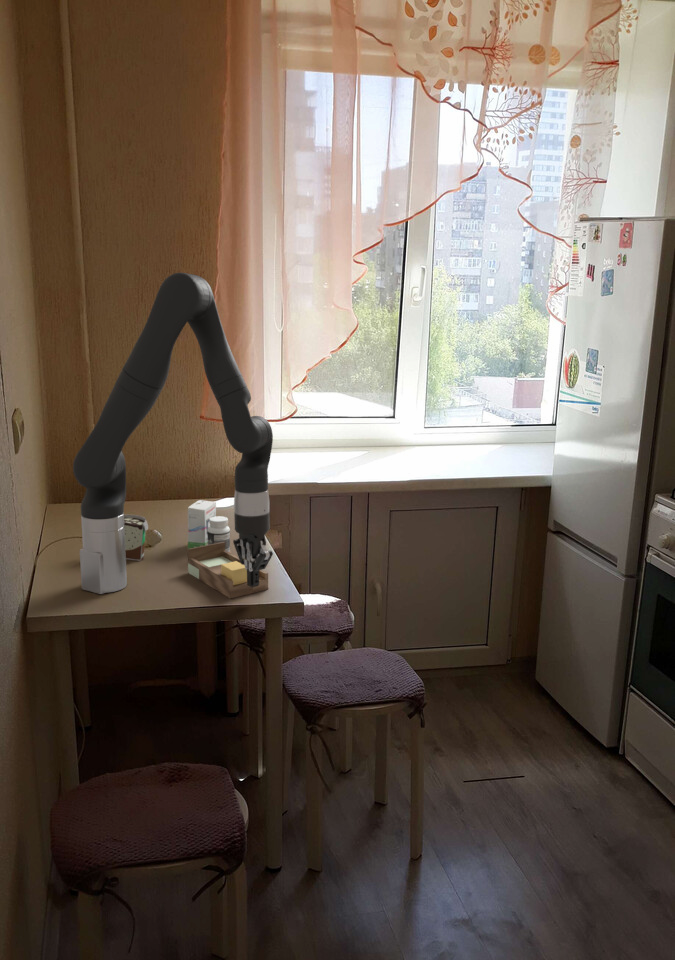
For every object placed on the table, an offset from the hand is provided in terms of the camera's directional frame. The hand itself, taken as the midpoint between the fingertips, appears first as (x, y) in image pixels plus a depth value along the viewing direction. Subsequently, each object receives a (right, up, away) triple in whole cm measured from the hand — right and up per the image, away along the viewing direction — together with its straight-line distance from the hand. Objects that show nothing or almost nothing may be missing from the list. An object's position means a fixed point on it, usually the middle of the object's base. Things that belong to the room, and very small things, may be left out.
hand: (253, 585), depth 182 cm
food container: (-34, +4, +29) cm, 45 cm away
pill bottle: (-12, +4, +30) cm, 32 cm away
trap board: (-7, 0, +13) cm, 15 cm away
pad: (-12, +1, +18) cm, 22 cm away
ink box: (-17, +5, +36) cm, 41 cm away
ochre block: (-5, 0, +6) cm, 8 cm away
